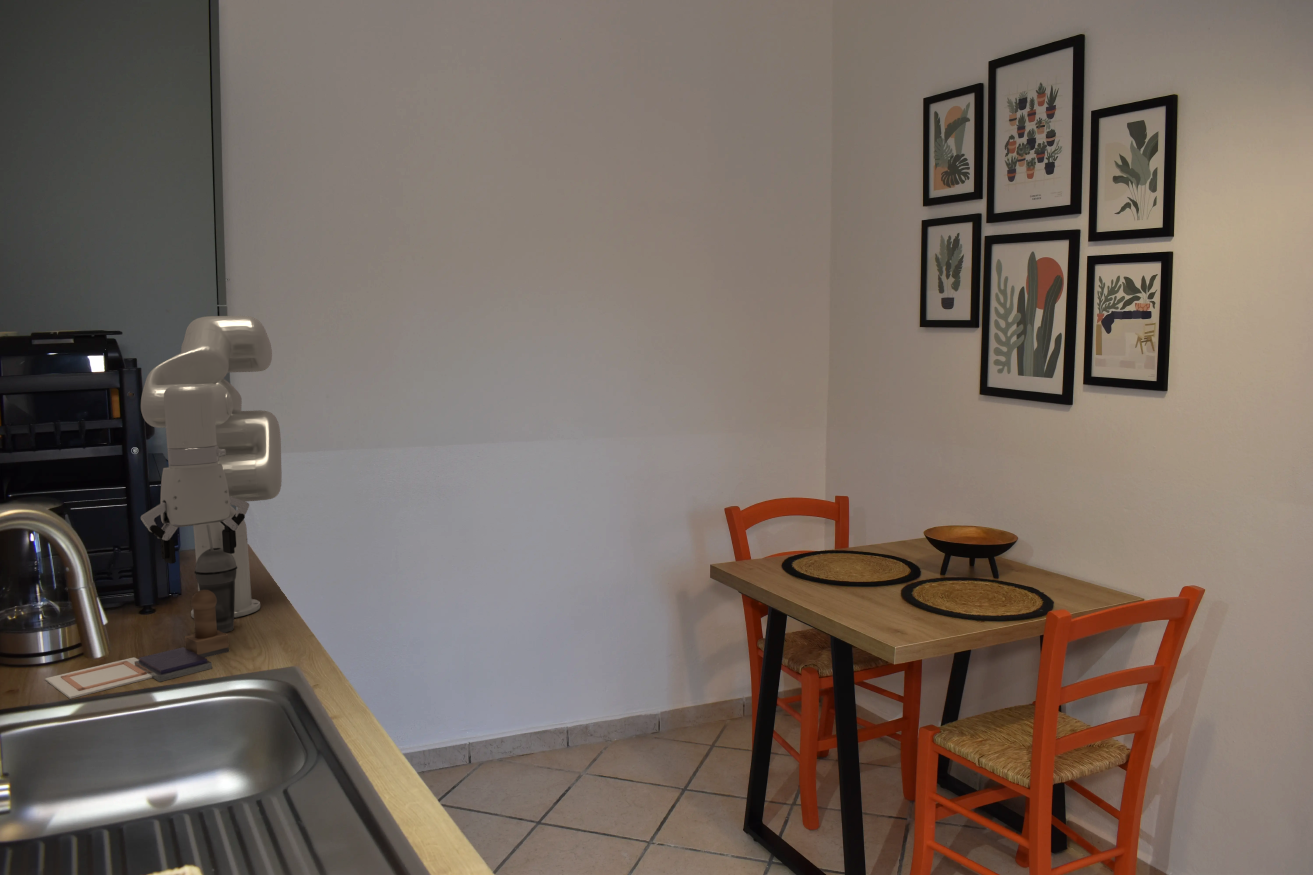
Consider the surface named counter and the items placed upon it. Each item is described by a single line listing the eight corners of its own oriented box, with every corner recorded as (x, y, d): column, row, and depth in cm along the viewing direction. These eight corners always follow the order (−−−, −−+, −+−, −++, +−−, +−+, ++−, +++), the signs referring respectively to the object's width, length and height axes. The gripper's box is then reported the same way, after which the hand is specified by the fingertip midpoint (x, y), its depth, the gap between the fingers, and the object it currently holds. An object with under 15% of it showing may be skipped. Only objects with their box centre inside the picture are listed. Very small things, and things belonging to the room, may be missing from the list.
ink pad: (135, 667, 152) (134, 657, 152) (185, 654, 158) (185, 645, 157) (159, 681, 144) (158, 671, 144) (212, 668, 150) (211, 658, 150)
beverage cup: (220, 637, 167) (212, 529, 166) (189, 634, 170) (181, 527, 168) (250, 626, 174) (243, 522, 172) (220, 623, 177) (213, 520, 175)
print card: (45, 680, 147) (45, 676, 147) (134, 658, 156) (134, 655, 156) (69, 698, 138) (69, 695, 138) (162, 675, 147) (162, 672, 147)
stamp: (185, 653, 159) (181, 590, 158) (216, 645, 162) (212, 584, 161) (197, 659, 155) (193, 595, 154) (229, 651, 159) (224, 589, 158)
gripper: (235, 452, 165) (241, 547, 166) (129, 461, 152) (137, 564, 153) (253, 454, 159) (260, 551, 161) (145, 463, 147) (153, 569, 148)
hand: (200, 557), depth 157 cm, fingers open, 9 cm apart
